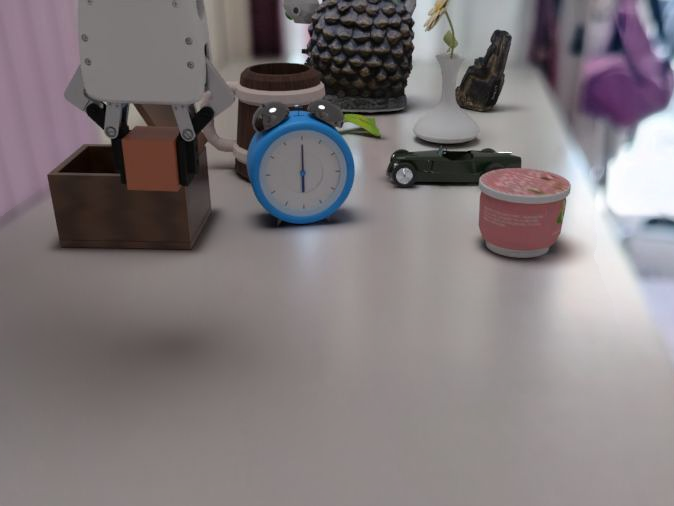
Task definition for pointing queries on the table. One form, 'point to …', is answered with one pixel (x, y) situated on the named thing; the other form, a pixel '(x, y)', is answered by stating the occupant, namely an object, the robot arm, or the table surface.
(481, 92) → the statue
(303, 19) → the robot
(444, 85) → the flower in vase
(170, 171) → the block
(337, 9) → the pine cone sculpture
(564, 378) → the table surface
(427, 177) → the toy car
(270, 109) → the alarm clock
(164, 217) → the chest
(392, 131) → the table surface
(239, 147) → the mug
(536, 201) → the container
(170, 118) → the lid
